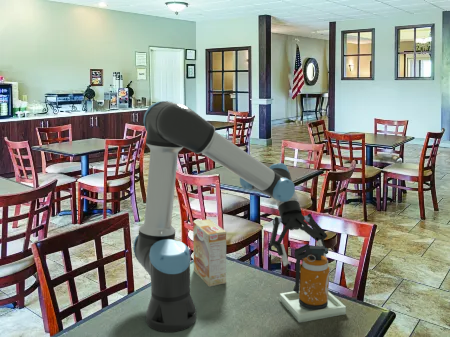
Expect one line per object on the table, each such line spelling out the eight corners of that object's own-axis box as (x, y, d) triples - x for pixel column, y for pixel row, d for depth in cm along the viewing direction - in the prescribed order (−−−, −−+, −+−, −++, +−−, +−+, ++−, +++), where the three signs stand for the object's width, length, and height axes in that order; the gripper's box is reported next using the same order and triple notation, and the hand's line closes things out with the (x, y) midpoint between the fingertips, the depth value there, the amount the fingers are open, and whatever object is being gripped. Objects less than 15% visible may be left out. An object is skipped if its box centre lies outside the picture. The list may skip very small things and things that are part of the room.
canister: (327, 313, 141) (331, 252, 137) (291, 309, 143) (293, 249, 139) (327, 299, 149) (330, 241, 145) (293, 295, 152) (295, 238, 147)
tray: (299, 322, 138) (299, 315, 137) (279, 300, 151) (279, 293, 150) (345, 314, 143) (346, 306, 142) (322, 293, 156) (323, 286, 155)
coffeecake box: (192, 270, 173) (192, 221, 169) (210, 266, 176) (210, 218, 172) (208, 287, 160) (208, 234, 155) (226, 283, 163) (227, 231, 158)
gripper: (316, 206, 166) (335, 261, 156) (251, 212, 159) (266, 270, 149) (324, 196, 160) (344, 253, 150) (257, 202, 153) (273, 262, 143)
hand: (305, 262), depth 149 cm, fingers open, 13 cm apart
